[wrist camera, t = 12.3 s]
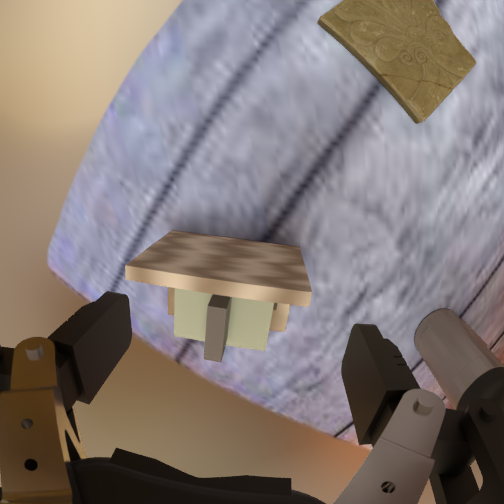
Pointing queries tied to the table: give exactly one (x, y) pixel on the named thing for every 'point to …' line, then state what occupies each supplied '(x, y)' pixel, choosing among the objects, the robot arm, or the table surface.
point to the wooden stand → (226, 270)
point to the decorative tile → (402, 49)
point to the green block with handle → (221, 321)
